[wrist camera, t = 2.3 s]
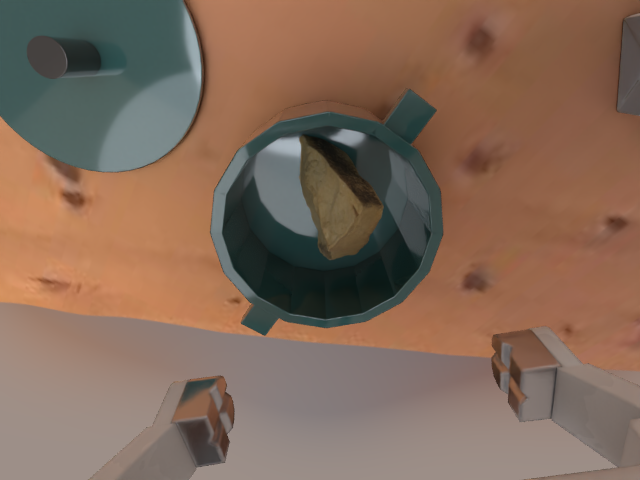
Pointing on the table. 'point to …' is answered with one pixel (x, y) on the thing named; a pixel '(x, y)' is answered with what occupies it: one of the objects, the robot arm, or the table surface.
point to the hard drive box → (630, 67)
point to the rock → (337, 198)
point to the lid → (100, 78)
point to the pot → (300, 231)
